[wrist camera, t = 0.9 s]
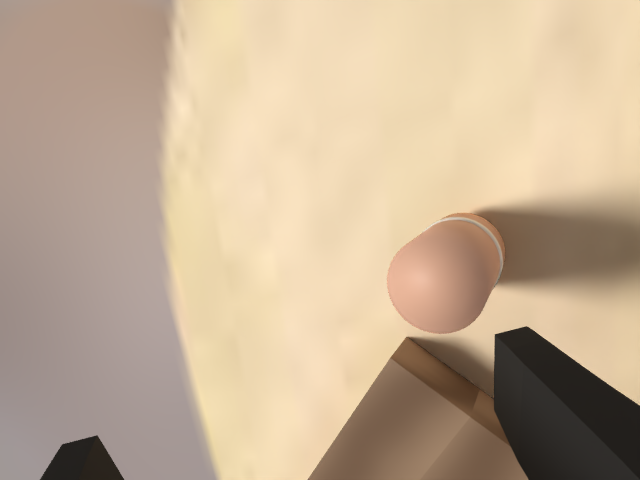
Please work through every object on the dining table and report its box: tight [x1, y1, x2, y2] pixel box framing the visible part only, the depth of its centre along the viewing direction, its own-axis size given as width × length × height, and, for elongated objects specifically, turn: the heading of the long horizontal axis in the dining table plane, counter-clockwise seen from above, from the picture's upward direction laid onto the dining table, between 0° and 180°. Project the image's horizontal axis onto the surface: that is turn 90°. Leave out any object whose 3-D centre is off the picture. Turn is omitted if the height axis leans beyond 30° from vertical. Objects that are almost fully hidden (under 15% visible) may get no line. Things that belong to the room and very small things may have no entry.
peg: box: [387, 213, 505, 334], centre depth 20 cm, size 3×3×6 cm
